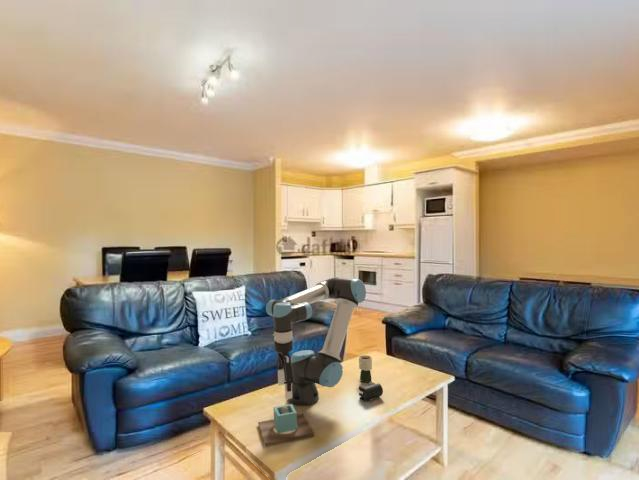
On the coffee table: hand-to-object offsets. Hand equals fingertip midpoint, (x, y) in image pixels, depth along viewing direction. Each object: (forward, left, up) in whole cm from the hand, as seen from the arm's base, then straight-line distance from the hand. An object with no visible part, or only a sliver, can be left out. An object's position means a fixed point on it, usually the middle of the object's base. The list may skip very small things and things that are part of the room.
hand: (284, 391), depth 148 cm
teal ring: (0, 0, -15) cm, 15 cm away
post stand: (0, 0, -17) cm, 17 cm away
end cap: (-13, +46, -17) cm, 50 cm away
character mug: (-33, +53, -17) cm, 64 cm away
